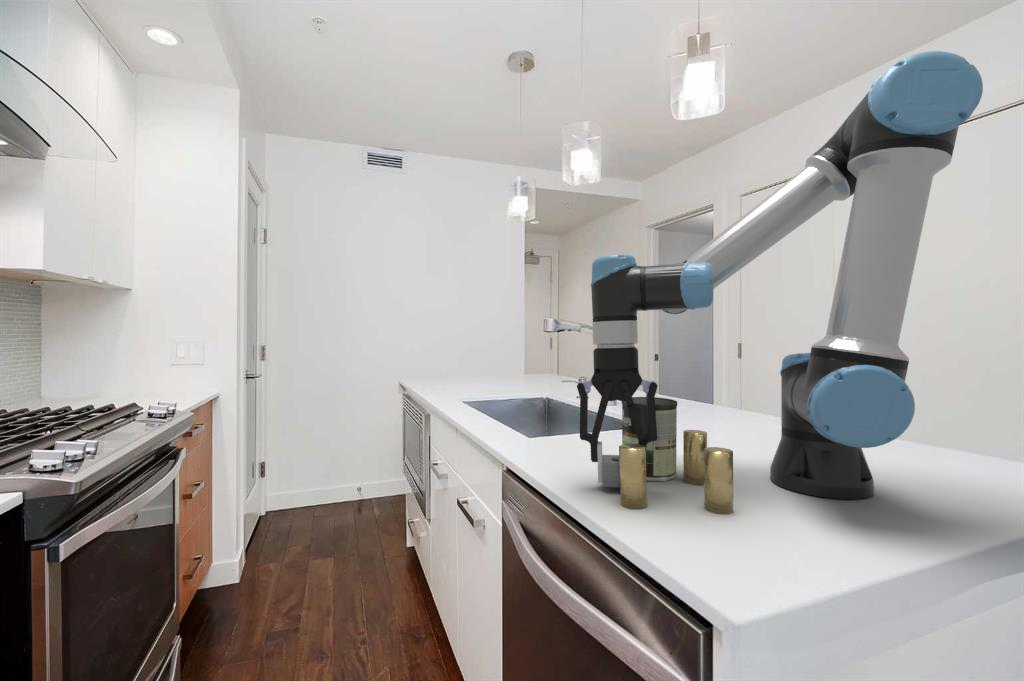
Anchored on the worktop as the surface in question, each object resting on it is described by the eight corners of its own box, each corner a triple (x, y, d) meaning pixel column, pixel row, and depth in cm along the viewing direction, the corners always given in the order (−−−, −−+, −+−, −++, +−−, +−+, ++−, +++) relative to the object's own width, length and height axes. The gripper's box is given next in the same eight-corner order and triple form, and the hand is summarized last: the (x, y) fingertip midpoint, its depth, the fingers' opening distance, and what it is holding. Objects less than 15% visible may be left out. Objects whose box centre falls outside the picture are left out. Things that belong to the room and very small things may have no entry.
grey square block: (634, 478, 82) (633, 455, 82) (636, 488, 77) (635, 463, 77) (602, 476, 83) (602, 454, 83) (602, 486, 78) (602, 462, 78)
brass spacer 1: (644, 499, 74) (643, 443, 74) (649, 509, 70) (647, 450, 70) (619, 499, 75) (617, 444, 75) (622, 508, 71) (620, 450, 71)
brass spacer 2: (704, 479, 86) (704, 430, 85) (709, 485, 82) (709, 434, 82) (681, 477, 86) (681, 429, 86) (685, 484, 82) (685, 433, 82)
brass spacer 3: (729, 505, 72) (729, 447, 72) (736, 515, 68) (736, 454, 68) (701, 503, 73) (701, 446, 73) (707, 513, 69) (707, 452, 69)
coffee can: (624, 480, 85) (624, 403, 85) (619, 465, 95) (619, 396, 95) (683, 482, 83) (683, 404, 83) (671, 466, 94) (671, 397, 93)
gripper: (668, 344, 82) (672, 476, 82) (563, 347, 85) (566, 473, 85) (674, 345, 74) (678, 490, 74) (559, 348, 78) (563, 486, 78)
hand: (619, 480), depth 80 cm, fingers closed on grey square block, 5 cm apart
